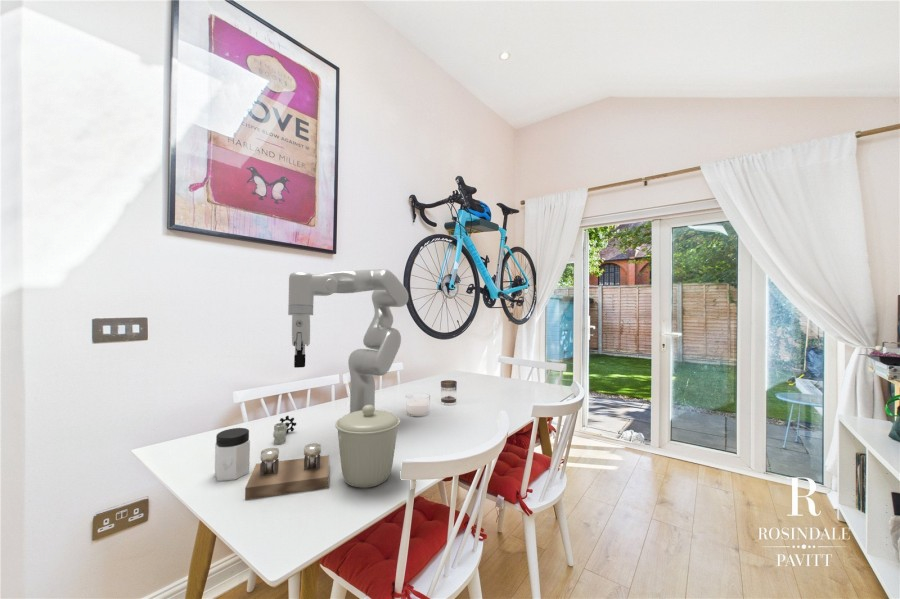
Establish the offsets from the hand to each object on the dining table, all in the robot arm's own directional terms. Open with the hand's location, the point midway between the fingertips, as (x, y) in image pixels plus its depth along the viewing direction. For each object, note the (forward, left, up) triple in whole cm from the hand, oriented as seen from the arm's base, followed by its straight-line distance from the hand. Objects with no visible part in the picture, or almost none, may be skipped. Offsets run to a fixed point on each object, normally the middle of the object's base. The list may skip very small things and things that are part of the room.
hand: (299, 366), depth 115 cm
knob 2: (-5, +16, -26) cm, 31 cm away
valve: (+7, -18, -29) cm, 35 cm away
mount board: (+1, +16, -29) cm, 33 cm away
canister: (-20, +21, -29) cm, 41 cm away
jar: (+17, +7, -29) cm, 35 cm away
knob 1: (+6, +16, -26) cm, 31 cm away
